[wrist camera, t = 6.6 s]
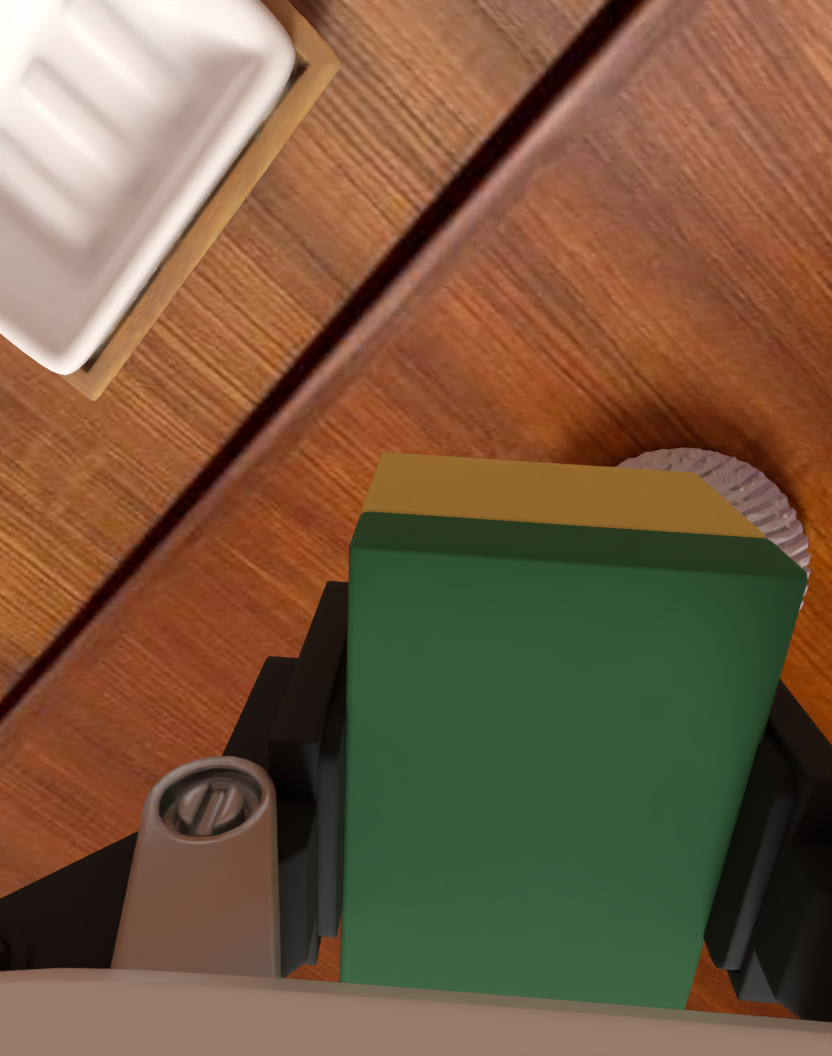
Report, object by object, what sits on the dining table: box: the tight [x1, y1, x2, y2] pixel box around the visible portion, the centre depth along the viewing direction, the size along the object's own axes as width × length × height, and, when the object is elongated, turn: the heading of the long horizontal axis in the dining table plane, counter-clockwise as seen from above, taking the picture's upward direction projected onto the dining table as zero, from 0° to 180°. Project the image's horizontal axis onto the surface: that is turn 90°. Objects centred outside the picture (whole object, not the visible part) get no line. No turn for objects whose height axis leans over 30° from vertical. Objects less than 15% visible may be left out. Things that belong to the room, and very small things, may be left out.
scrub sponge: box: [340, 452, 808, 1010], centre depth 10 cm, size 7×5×4 cm, turn 177°
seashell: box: [615, 448, 810, 610], centre depth 26 cm, size 10×6×10 cm
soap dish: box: [0, 0, 343, 401], centre depth 20 cm, size 12×10×5 cm
